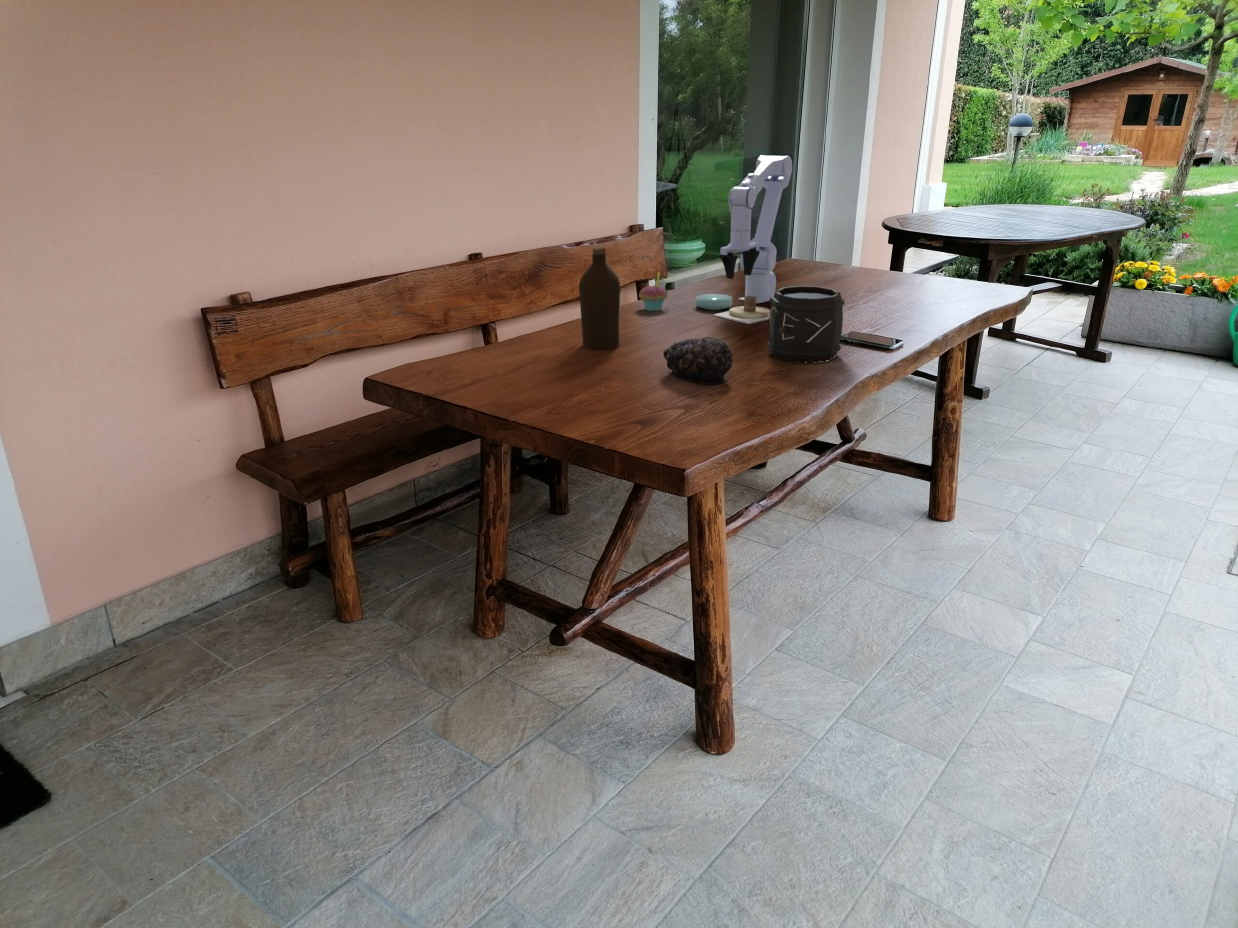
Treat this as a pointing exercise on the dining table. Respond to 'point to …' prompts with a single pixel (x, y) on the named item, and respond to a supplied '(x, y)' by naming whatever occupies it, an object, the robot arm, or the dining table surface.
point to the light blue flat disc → (713, 301)
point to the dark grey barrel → (805, 323)
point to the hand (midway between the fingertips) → (738, 276)
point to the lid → (749, 309)
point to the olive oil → (600, 304)
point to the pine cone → (699, 360)
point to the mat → (742, 320)
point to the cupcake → (653, 296)
